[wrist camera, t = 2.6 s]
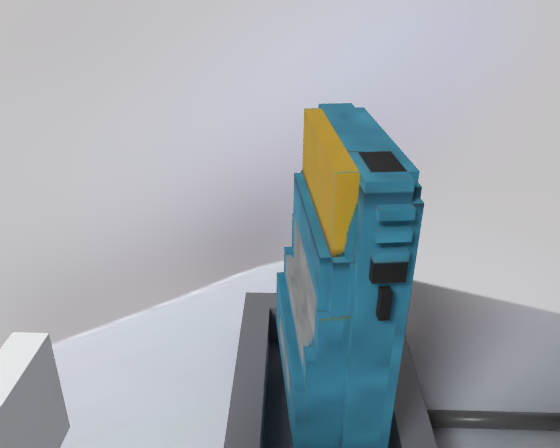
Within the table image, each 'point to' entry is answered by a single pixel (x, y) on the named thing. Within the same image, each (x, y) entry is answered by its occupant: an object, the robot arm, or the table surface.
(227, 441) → the charging dock
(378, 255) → the handheld gaming console
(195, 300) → the table surface
